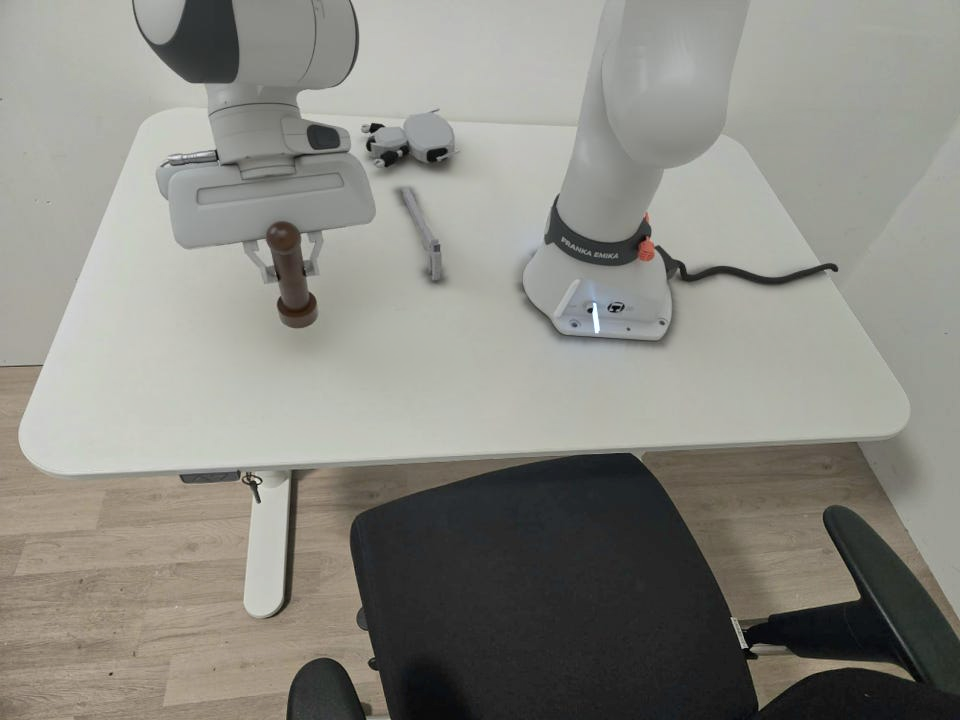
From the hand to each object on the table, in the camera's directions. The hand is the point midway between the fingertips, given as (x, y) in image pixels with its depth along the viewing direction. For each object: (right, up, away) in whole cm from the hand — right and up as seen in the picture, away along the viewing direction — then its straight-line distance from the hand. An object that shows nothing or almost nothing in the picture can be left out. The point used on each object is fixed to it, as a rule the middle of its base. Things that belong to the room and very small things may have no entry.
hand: (292, 279), depth 62 cm
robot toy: (+8, +27, +37) cm, 46 cm away
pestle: (-1, -3, +6) cm, 7 cm away
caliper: (+11, +11, +26) cm, 30 cm away
